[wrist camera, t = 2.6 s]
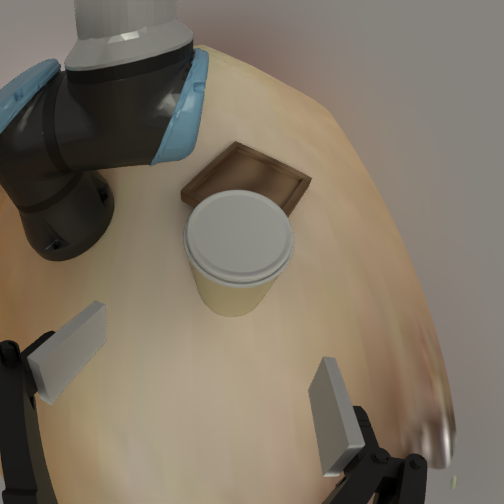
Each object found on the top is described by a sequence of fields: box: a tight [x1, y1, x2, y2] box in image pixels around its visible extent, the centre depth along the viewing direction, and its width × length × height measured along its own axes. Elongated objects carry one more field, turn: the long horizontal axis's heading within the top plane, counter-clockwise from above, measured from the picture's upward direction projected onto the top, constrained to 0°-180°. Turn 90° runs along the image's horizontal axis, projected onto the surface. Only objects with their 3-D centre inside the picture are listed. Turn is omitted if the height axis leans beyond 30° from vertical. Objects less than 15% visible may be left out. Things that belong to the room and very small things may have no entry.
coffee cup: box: [183, 190, 294, 317], centre depth 28 cm, size 9×9×12 cm
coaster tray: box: [181, 141, 312, 218], centre depth 40 cm, size 14×14×2 cm
